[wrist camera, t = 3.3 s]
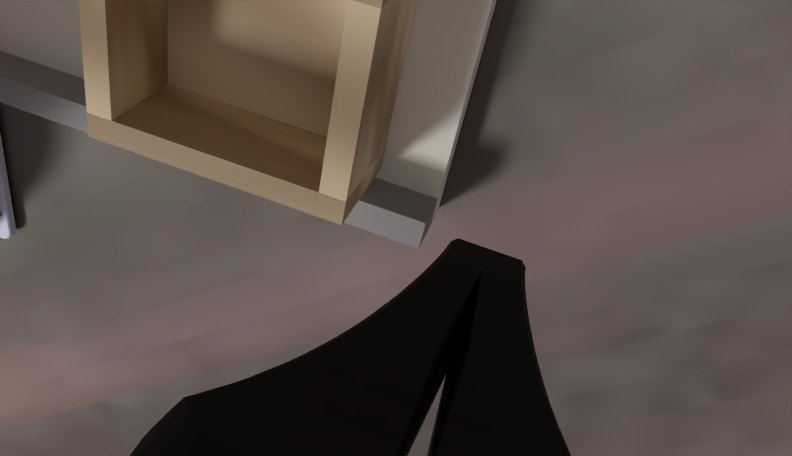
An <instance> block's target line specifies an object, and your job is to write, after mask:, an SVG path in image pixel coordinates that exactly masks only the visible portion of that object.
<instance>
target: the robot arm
mask: <svg viewBox="0 0 792 456" xmlns="http://www.w3.org/2000/svg"><path fill="white" fill-rule="evenodd" d="M15 233H16V226H15V220H14V214H13V208H12V202H11V195H10V189H9V183H8V177H7V171H6V165H5V158H4V152H3V146H2V140H1V134H0V238H3V239H9V238H10V237H12V236H13V235H14V234H15ZM445 375H446V378H445ZM444 378H445V382H444V386H443V390H442V394H441V399H440V403H439V407H438V411H437V415H436V420H435V424H434V428H433V432H432V437H431V441H430V445H429V449H428V454H427V456H571V454H570V452H569V450H568V447H567V445H566V443H565V440H564V438H563V436H562V433H561V431H560V429H559V426H558V423H557V421H556V418H555V415H554V413H553V410H552V407H551V405H550V402H549V399H548V396H547V393H546V389H545V386H544V383H543V379H542V376H541V372H540V369H539V365H538V361H537V357H536V353H535V349H534V344H533V339H532V334H531V329H530V324H529V317H528V311H527V302H526V292H525V266H524V264H523V262H522V260H519V259H516V258H513V257H510V256H507V255H505V254H502V253H499V252H496V251H493V250H490V249H487V248H484V247H482V246H479V245H476V244H473V243H470V242H467V241H464V240H461V239H456V240H453V241H451V242H450V243H449V245H448V246H447V248H446V249H445V250H444V251H443V252H442V254H441V255H440V256H439V257H438V258H437V259H436V260H435V261H434V262H433V263H432V264H431V265H430V266H429V267H428V268H427V269H426V270H425V271H424V272H423V273H422V274H421V275H420V276H419V277H418V278H416V279H415V280H414V281H413V282H412V283H411V284H410V285H408V286H407V287H406V288H405V289H404V290H403V291H402V292H400V293H399V294H398V295H397V296H395V297H394V298H393V299H392V300H390V301H389V302H388V303H386V304H385V305H384V306H382V307H381V308H380V309H378V310H377V311H376V312H374V313H373V314H371V315H370V316H369V317H367V318H366V319H364V320H363V321H361V322H360V323H358V324H357V325H355V326H354V327H352V328H350V329H349V330H347V331H345V332H344V333H342V334H340V335H339V336H337V337H335V338H334V339H332V340H330V341H328V342H326V343H325V344H323V345H321V346H319V347H317V348H315V349H313V350H311V351H309V352H307V353H305V354H303V355H301V356H299V357H297V358H295V359H293V360H291V361H289V362H286V363H284V364H281V365H279V366H276V367H274V368H271V369H269V370H266V371H264V372H261V373H259V374H257V375H254V376H252V377H249V378H246V379H244V380H241V381H238V382H235V383H232V384H228V385H225V386H222V387H219V388H215V389H212V390H209V391H205V392H202V393H199V394H195V395H191V396H187V397H184V398H183V399H182V400H181V401H180V402H179V403H177V404H176V405H175V406H174V407H173V408H172V409H171V410H170V411H169V412H168V413H167V414H166V415H165V416H164V417H163V418H162V419H161V420H160V421H159V422H158V423H157V424H156V425H155V426H154V427H153V428H152V429H151V430H150V431H149V432H148V433H147V434H146V435H145V436H144V438H143V439H142V440H141V441H140V443H139V444H138V445H137V447H136V448H135V449H134V451H133V452H132V453H131V455H130V456H407V455H408V453H409V451H410V449H411V447H412V445H413V442H414V440H415V438H416V436H417V434H418V432H419V430H420V428H421V426H422V424H423V422H424V419H425V417H426V415H427V413H428V411H429V409H430V407H431V405H432V403H433V401H434V399H435V396H436V394H437V392H438V390H439V388H440V386H441V384H442V382H443V380H444Z"/></svg>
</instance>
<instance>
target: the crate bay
mask: <svg viewBox="0 0 792 456" xmlns="http://www.w3.org/2000/svg"><path fill="white" fill-rule="evenodd" d="M496 1H497V0H416V5H415V9H414V14H413V19H412V24H411V28H410V33H409V38H408V43H407V47H406V52H405V57H404V61H403V66H402V71H401V76H400V80H399V85H398V90H397V95H396V99H395V104H394V109H393V114H392V118H391V123H390V128H389V133H388V137H387V142H386V147H385V151H384V156H383V161H382V166H381V168H380V170H379V171H378V173H377V174H376V176H375V177H374V179H373V180H372V182H371V183H370V184H369V186H368V187H367V189H366V190H365V192H364V193H363V195H362V196H361V198H360V199H359V201H358V202H357V203H356V205H355V206H354V208H353V209H352V211H351V212H350V214H349V215H348V217H347V218H346V220H345V221H344V223H346V224H349V225H352V226H355V227H358V228H361V229H364V230H366V231H369V232H372V233H375V234H378V235H381V236H384V237H386V238H389V239H392V240H395V241H398V242H401V243H404V244H406V245H409V246H412V247H415V248H418V249H419V247H420V245H421V243H422V241H423V239H424V237H425V235H426V233H427V231H428V229H429V227H430V225H431V223H432V221H433V219H434V217H435V215H436V213H437V211H438V209H439V205H440V202H441V198H442V195H443V191H444V187H445V184H446V180H447V177H448V173H449V170H450V166H451V162H452V159H453V155H454V152H455V148H456V144H457V141H458V137H459V134H460V130H461V127H462V123H463V119H464V116H465V112H466V109H467V105H468V102H469V98H470V94H471V91H472V87H473V84H474V80H475V77H476V73H477V69H478V66H479V62H480V59H481V55H482V52H483V48H484V44H485V41H486V37H487V34H488V30H489V27H490V23H491V19H492V16H493V12H494V9H495V5H496ZM0 103H3V104H6V105H9V106H12V107H15V108H18V109H20V110H23V111H26V112H29V113H32V114H35V115H38V116H40V117H43V118H46V119H49V120H52V121H55V122H58V123H60V124H63V125H66V126H69V127H72V128H75V129H78V130H80V131H83V132H86V133H88V122H87V109H86V97H85V84H84V71H83V58H82V45H81V32H80V19H79V6H78V0H0Z"/></svg>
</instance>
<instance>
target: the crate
mask: <svg viewBox="0 0 792 456" xmlns="http://www.w3.org/2000/svg"><path fill="white" fill-rule="evenodd" d="M415 5H416V0H78V6H79V19H80V32H81V45H82V58H83V71H84V84H85V97H86V109H87V122H88V135H89V137H92V138H94V139H97V140H100V141H103V142H106V143H109V144H112V145H114V146H117V147H120V148H123V149H126V150H129V151H132V152H134V153H137V154H140V155H143V156H146V157H149V158H152V159H154V160H157V161H160V162H163V163H166V164H169V165H172V166H174V167H177V168H180V169H183V170H186V171H189V172H192V173H194V174H197V175H200V176H203V177H206V178H209V179H212V180H214V181H217V182H220V183H223V184H226V185H229V186H231V187H234V188H237V189H240V190H243V191H246V192H249V193H251V194H254V195H257V196H260V197H263V198H266V199H269V200H271V201H274V202H277V203H280V204H283V205H286V206H289V207H291V208H294V209H297V210H300V211H303V212H306V213H309V214H311V215H314V216H317V217H320V218H323V219H326V220H329V221H331V222H334V223H337V224H340V225H342V224H343V222H344V221H345V220H346V218H347V217H348V215H349V214H350V212H351V211H352V209H353V208H354V206H355V205H356V203H357V202H358V201H359V199H360V198H361V196H362V195H363V193H364V192H365V190H366V189H367V187H368V186H369V184H370V183H371V182H372V180H373V179H374V177H375V176H376V174H377V173H378V171H379V170H380V168H381V166H382V161H383V156H384V151H385V147H386V142H387V137H388V133H389V128H390V123H391V118H392V114H393V109H394V104H395V99H396V95H397V90H398V85H399V80H400V76H401V71H402V66H403V61H404V57H405V52H406V47H407V43H408V38H409V33H410V28H411V24H412V19H413V14H414V9H415Z"/></svg>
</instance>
